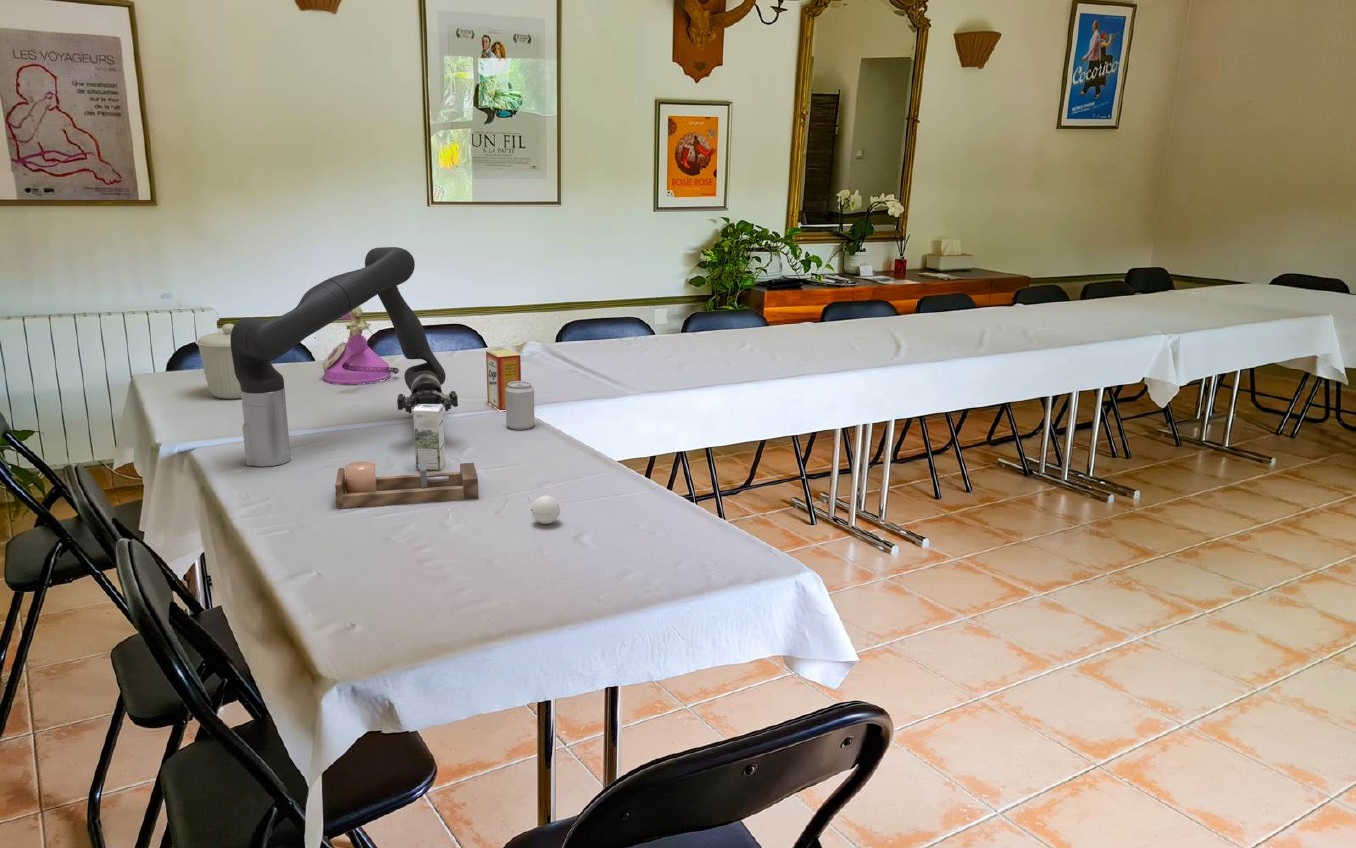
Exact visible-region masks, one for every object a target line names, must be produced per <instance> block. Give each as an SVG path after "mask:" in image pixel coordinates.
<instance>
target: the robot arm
mask: <svg viewBox="0 0 1356 848" xmlns="http://www.w3.org/2000/svg"><path fill="white" fill-rule="evenodd" d="M415 263H416V262H415V259H414V256H413V255H412V253H411V252H410V251H408V250H407V249H405V248H402V247H397V246H384V247H375V248H371V249H370V250H369V251H368V252H367V254H366V255H365V259H364V267H362V268H360V269H356V270H351V271H348V272H343V273H339V274H337V275H334V276H332V277H330V278H327V279H325V280H323V281H322V282H320V283H318V284H316V285H314V286H313V287H311V288H309V289H308V290H307V291H306V292H305V293H304V294H303V295H302V297H301V299H300V300H299V302H298V304H297V305H296V306H295V307H294V308H293V309H292V310H289V311H288V312H286V313H284V314H282V315H280V316H278V317H275V318H271V319H264V318H257V317H244V318H241V319H239V320H237V321H236V322H235V324H233V325H234V327H233V329H232V332H231V338H230V343H231V352H232V358H233V365H234V371H235V375H236V378H237V380H238V381H239V383H240V389H241V398H240V399H241V406H242V407H241V409H242V416H243V424H242V435H243V436H242V438H243V443H244V444H243V445H244V453H245V455H244V456H245V464H246V466H254V467H273V466H279V465H283V464H286V463H288V462H290V461H291V460H292V459H291V447H290V444H291V443H290V435H289V434H290V432H289V422H288V421H289V420H288V411H287V410H288V409H287V401H286V400H287V399H286V389H285V388H286V387H285V380H284V376H283V375H282V374H281V373H280V372H279V371H278V370H277V369H276V368H275V367H274V366H273V363H272V362H273V361H275V360H278V359H279V358H281V357H282V356H284V355H285V354H287V353H288V352H289V351H290V350H292V349H293V348H294V347H296V346H297V345H299V344H300V343H301V342H302V341H303V340H305V339H306V338H308V337H309V336H311V335H313V334H315V333H317V332H318V331H320V330H321V329H323V328H324V327H327V326H328V325H330V324H332V323H333V322H335V321H338V320H340V319H342V318H341V317H342V316H344V315H346V314H347V313H349V312H350V311H352V310H353V309H355V308H357V307H358V306H359V307H361V306H362V305H364V304H365V303H367V302H368V301H369V300H371V299H373V298H374V297H376V296H378V297H379V300H380V302H381V304H382V305H383V307H384V309H385V311H386V313H387V315H388V317H389V319H390V321H391V324H392V326H393V329H394V331H395V334H396V337H397V340H398V344H399V345H400V348H401V351H402V354H403V357H405V359H407V360H422V361H425V362H424V363H420V364H417V365H413V366H410V367H408V368H407V369H406V370H405V371H404V382H405V385H406V386H407V388H408V389H409V391H410V395H409V396H406V395H405V394H403V393H399V394H398V395H397V400H396V402H397V410H398V411H403V410H405V411H404V412H405V413H408V414H413V410H414V408H415V407H416V406H417V405H418V404H442V405H443V408H444V411H445V412H449V410H452V407H454V408H456V407H458V406H459V401H458V398H459V397H458V394H457V393H456V391H454V390H451V391H450V392H448V393H449V394H445V393H444V392H443V391H442V385H443V384H445V381H446V372H445V369H444V368H443V366H442V364H441V363H440V361H438V359H437V358H436V356H435V354H434V353H433V351H432V349H431V347H430V345H429V341H428V340H427V336H426V332H425V330H424V327H423V325H422V323H421V321H420V319H419V317H418V316H417V314H415V312H414V310H413V309H412V308H411V307H410V306H409V305H408V304H407V302H406V301H405V299H404V297H403V295H402V294H401V292H400V290H399V288H398V286H399V285H401V284H404V283H406V282H407V281H408V280H409V279H410V278H411V277H412V275H413V274H414V271H415V266H416V264H415Z"/></svg>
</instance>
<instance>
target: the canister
mask: <svg viewBox="0 0 1356 848" xmlns="http://www.w3.org/2000/svg"><path fill="white" fill-rule="evenodd" d="M234 325H235V324H233V323H226V324H223V326H222V328H221V329H222V331H218V332H217V331H216V332H212V333H208V334H204V335H202V336H200V337H199V338H198V339H196V340H195V341H194V342H195V344H196V345H197V346H198V350H199V354H200V358H201V364H202V369H203V372H204V376H205V379H206V383H207V387H208V390H209V392H210V394H211V395H212V396H213V397H215V398H219V399H225V400H228V399H229V400H235V399H236V400H237V399H242V398H241V389H240V383H239V381H238V380H237V378H236V375H235V371H234V365H233V358H232V352H231V343H230V338H231V332H232V329H233V327H234Z"/></svg>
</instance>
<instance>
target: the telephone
mask: <svg viewBox="0 0 1356 848" xmlns="http://www.w3.org/2000/svg"><path fill="white" fill-rule="evenodd" d="M363 313H364V311H363V309H362V307H361V306H358V307H357V308H355V309H353V310H352V311H350V312H349V313H347V314H346V315H344V316H342V317H341V318H340V319H341V320H348V321H350V322H349V323H347V324H345V327H346V330H349V334H348V337H347V341H346V342H344V341H342V342H341V343H339V344H338V345H337V346H336V347H334V348H333V349H332V351H331V352H330V353H328V355H327V357H326V358H325V359H324V361H323V362H322V369H323V372H324V374H323V376H322V377H323V379H324V380H325V382H326V381H327V382H326V383H328V382H331V383H330V384H332V383H334V384H333V385H336V384H363V383H370V382H377V381H380V380H384V379H386V378H388V379H389V378H391V376H392V375H396V374H398V373H399V372H400V369H399V367H391V366H390V364H389V363H388V362H387V361H385V359H383V358H382V357H381V356H379V355H378V354H377V353H376V352H375V351H374V350H373V349H372V348H371V347H370V346H373V345H374V344H375V343H376V342H377V341H378V339H379V336H378V335H375V334H373V332H372V331H371V330H370V329H369V328H370V326H371V323H367V322H366V321H365V319H363V317H362V314H363ZM364 330H365V331H366V330H368V331H369V332H370V333H371V334H373V337H371V339H370V342H368V340H367V338H366V337H365V336H364V335H363V331H364ZM363 385H364V384H363Z"/></svg>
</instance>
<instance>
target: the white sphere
mask: <svg viewBox="0 0 1356 848" xmlns="http://www.w3.org/2000/svg"><path fill="white" fill-rule="evenodd" d="M530 511H531V517H533V519H534V520H535V521H537V522H538V523H539V524H544V525H549V524H553V523H554V522H555V521H556V520H558V518H559V516H560V514H561V513H560V512H561V506H560V504H559V501H558V500H557V499H556V498H555V497H554V496H550V495H547V494H546V495H541V496H539V497H537V498H536V499H535V500H534V501H533V503H532V505H531V509H530Z"/></svg>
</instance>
